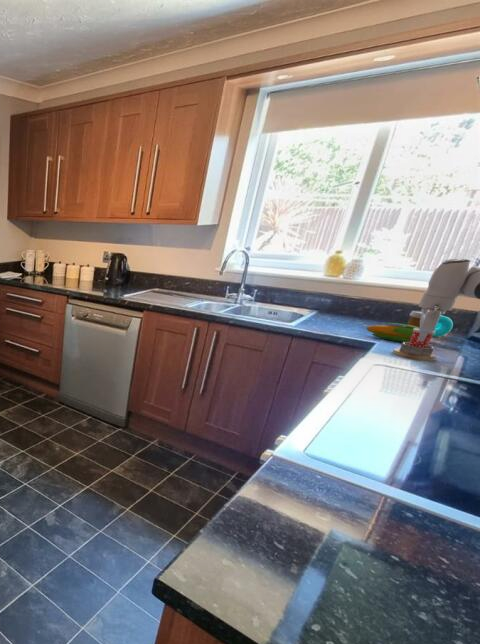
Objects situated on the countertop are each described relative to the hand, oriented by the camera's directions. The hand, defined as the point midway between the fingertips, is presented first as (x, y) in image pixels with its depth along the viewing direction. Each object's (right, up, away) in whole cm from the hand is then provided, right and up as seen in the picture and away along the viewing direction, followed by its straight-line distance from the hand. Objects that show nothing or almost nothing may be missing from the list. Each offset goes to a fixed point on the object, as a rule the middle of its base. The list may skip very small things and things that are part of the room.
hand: (420, 339), depth 164 cm
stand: (0, -6, +3) cm, 7 cm away
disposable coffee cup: (+28, +3, +29) cm, 41 cm away
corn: (+15, +2, +26) cm, 30 cm away
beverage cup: (0, -5, +2) cm, 6 cm away
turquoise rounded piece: (+44, +6, +37) cm, 58 cm away
